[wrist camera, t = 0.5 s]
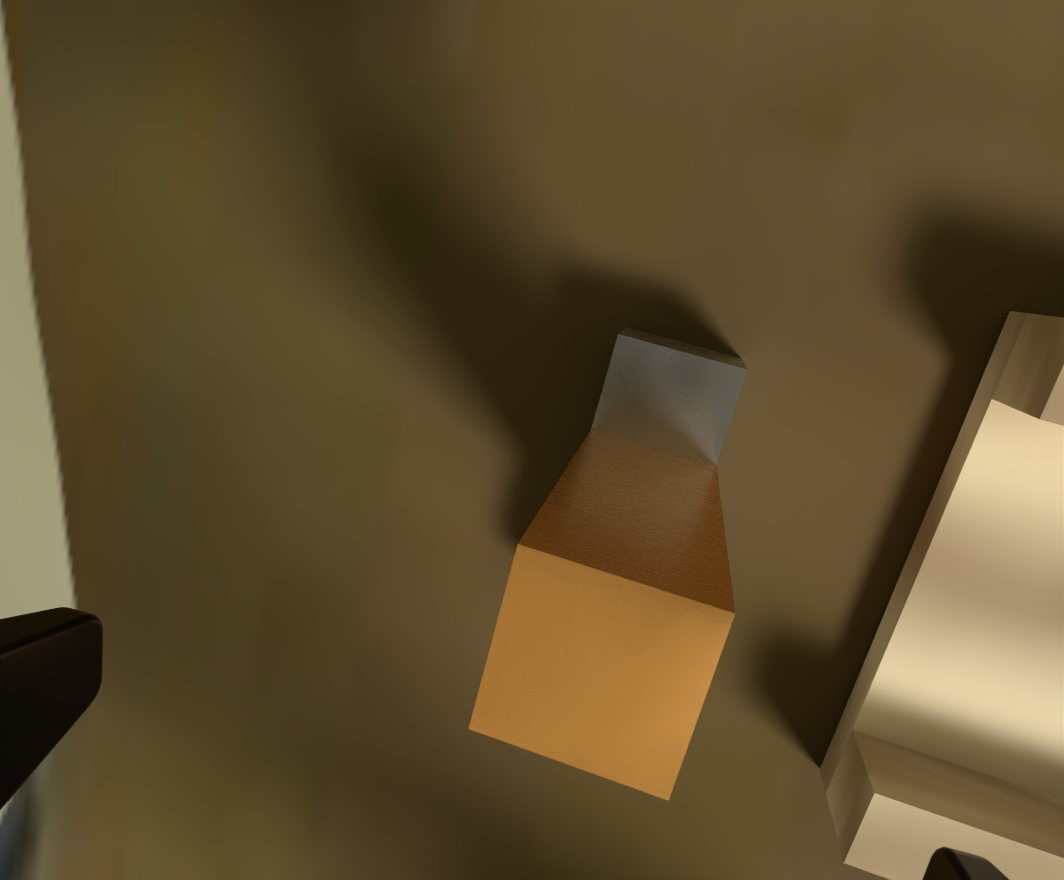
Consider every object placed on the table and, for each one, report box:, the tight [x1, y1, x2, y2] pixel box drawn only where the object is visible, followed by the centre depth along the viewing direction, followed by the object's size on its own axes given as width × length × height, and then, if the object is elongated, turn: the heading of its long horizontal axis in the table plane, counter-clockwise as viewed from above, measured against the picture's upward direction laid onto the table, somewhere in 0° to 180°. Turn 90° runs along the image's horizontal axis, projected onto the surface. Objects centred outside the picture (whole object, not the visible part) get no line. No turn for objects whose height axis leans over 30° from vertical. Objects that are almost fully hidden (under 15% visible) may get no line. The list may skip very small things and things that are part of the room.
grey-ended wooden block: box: [469, 327, 748, 801], centre depth 16 cm, size 8×3×10 cm, turn 166°
